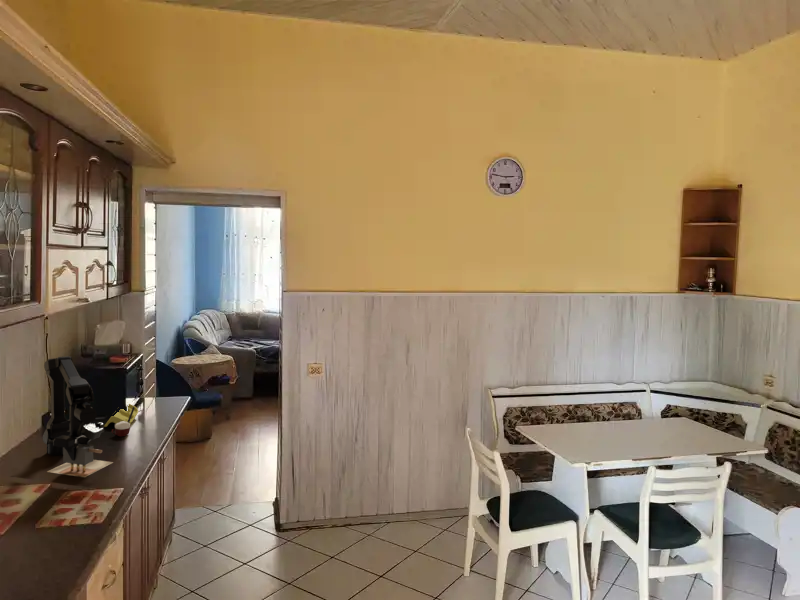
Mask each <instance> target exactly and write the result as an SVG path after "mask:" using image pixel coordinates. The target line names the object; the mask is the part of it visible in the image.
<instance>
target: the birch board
mask: <svg viewBox="0 0 800 600" xmlns="http://www.w3.org/2000/svg"><path fill="white" fill-rule="evenodd" d="M112 464H114V462H113V461H106V460H100V459H99V460H98V459H93V461H92V462H90V463H88V464H86V472H83V465H80V471H78V472H77V464H74V470H73V471H71V463H65V462H63V464H61V465H58V466H56V467H54V468H52V469H50V470H47V471H46V472H47V473H52V474H59V475H66V476H74V477H80V478H87V477H88V476H90V475H92V474H94V473H96V472H98V471H100V470H102V469H103V468H106V467H107V466H109V465H112Z"/></svg>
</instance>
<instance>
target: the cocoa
mask: <svg viewBox="0 0 800 600" xmlns="http://www.w3.org/2000/svg"><path fill="white" fill-rule="evenodd" d="M134 409H135V408H134V407H133V408H132V411H131V413H130V416H129V419H128V421H127V422H124V421H121V422H119V423H117V424H116V423H114V428H113V429H111V433H112V435H114V436H118V437H126V436H128V435H129V433H130V430H131V424H130V423H129V422H130V419H131V417H132V414H133V411H134Z"/></svg>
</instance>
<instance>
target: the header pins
mask: <svg viewBox="0 0 800 600" xmlns="http://www.w3.org/2000/svg"><path fill="white" fill-rule="evenodd" d="M73 470H74V464H73V463H71V471H73ZM78 471H80V464H77V472H78ZM83 472H86V465H83Z"/></svg>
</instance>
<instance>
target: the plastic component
mask: <svg viewBox="0 0 800 600" xmlns="http://www.w3.org/2000/svg"><path fill="white" fill-rule="evenodd" d="M133 407H134V408H135V409H134V411H133V414H132V417H131V419H130V422H129V423H130V425H131V424H132V423H133V421H134V420H135V419H136V417H137V415H138V413H139V409H138V407H136V406H135V405H133V404H131V403H129V406H128V411H125V410H124V409H120V410H119V412H117V413H116V414H115V415H114V416H110V418H109V419H108V420H107V422H105V424H104V428H106V427H108V426H109V425H110V424H111V423H114V424H117V423H119V422H121V421H124V422H127V421H128V419H129V416H130V413H131V411H132V408H133Z"/></svg>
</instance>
